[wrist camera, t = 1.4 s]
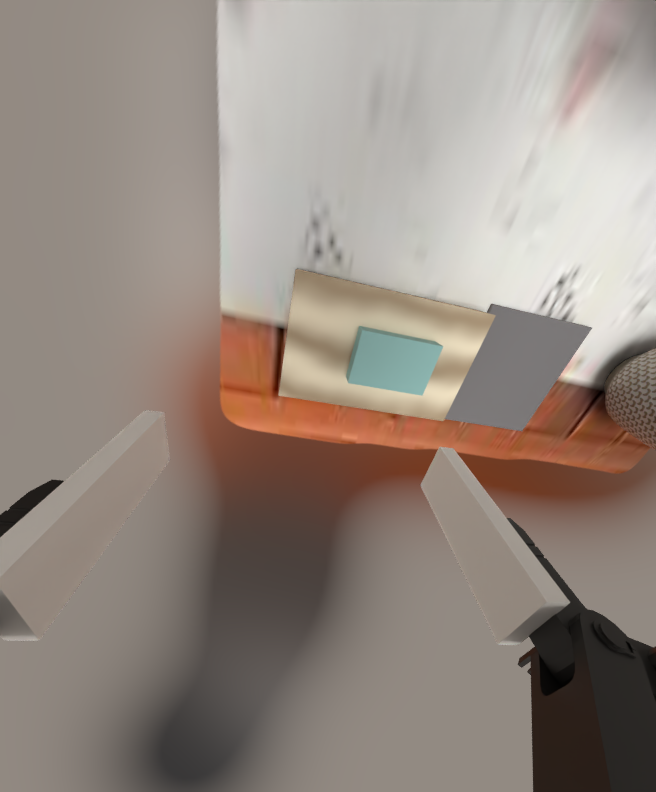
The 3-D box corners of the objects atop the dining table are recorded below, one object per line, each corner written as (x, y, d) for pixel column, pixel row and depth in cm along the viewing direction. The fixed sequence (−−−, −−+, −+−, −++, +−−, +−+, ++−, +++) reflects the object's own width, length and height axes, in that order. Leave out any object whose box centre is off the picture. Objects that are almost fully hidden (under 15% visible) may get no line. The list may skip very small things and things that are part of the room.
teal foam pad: (345, 376, 30) (348, 383, 28) (359, 325, 27) (362, 330, 25) (416, 388, 31) (422, 395, 29) (435, 341, 28) (443, 346, 27)
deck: (297, 268, 27) (295, 269, 24) (479, 310, 30) (495, 315, 28) (281, 384, 33) (278, 395, 31) (433, 409, 36) (443, 421, 34)
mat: (491, 303, 30) (493, 304, 29) (589, 327, 32) (592, 327, 32) (437, 416, 37) (438, 417, 37) (520, 429, 39) (521, 431, 39)
